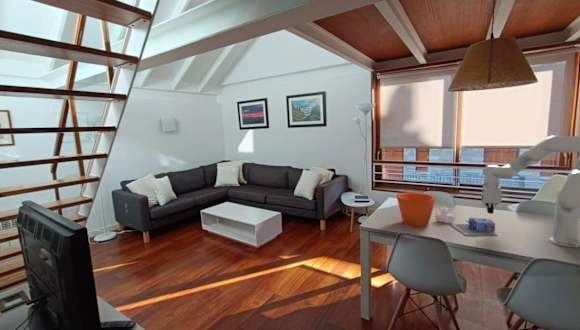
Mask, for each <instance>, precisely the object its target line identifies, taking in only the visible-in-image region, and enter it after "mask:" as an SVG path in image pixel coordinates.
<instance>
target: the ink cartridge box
mask: <svg viewBox="0 0 580 330" xmlns="http://www.w3.org/2000/svg"><path fill="white" fill-rule="evenodd" d="M466 222H467V224H469V226H470V227H471V228H472V229H473V230H483V231H491V232H495V231H496V223H495V222H494V221H493V220H492V219H491V218H481V217H469V218H468V220H466Z"/></svg>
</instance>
